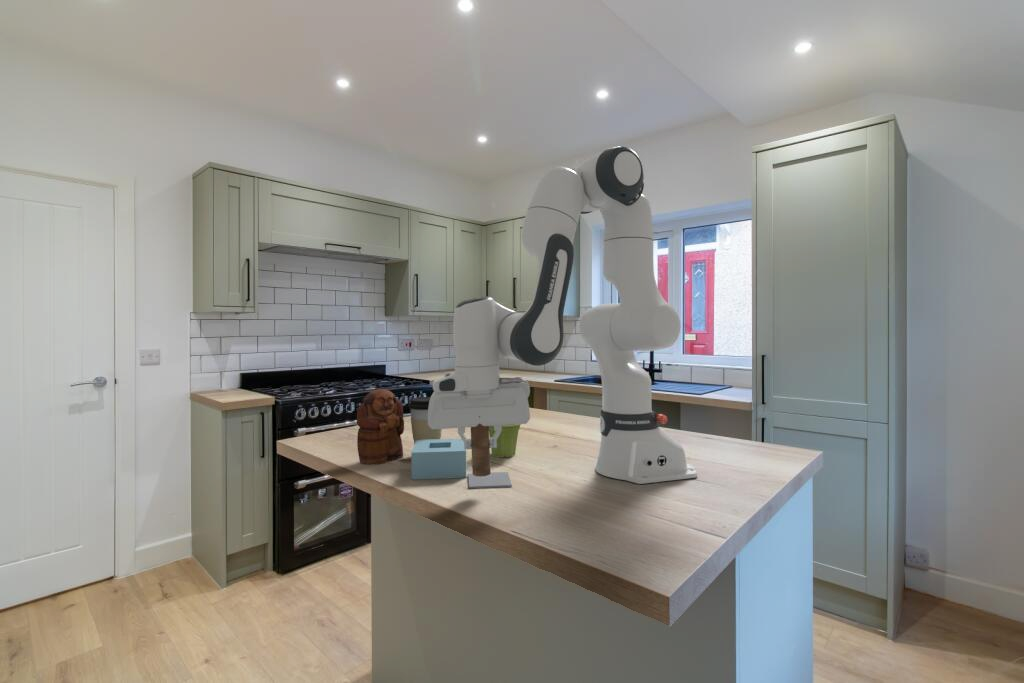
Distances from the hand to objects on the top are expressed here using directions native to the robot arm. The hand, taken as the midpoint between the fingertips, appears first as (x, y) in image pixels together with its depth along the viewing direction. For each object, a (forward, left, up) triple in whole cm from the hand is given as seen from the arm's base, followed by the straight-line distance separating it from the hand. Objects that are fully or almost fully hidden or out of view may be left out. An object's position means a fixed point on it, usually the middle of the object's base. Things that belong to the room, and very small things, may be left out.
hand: (480, 448), depth 97 cm
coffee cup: (+13, -31, -10) cm, 35 cm away
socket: (+9, -18, -10) cm, 22 cm away
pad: (-2, -9, -10) cm, 13 cm away
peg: (0, 0, -5) cm, 5 cm away
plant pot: (-7, -30, -10) cm, 32 cm away
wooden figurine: (+24, -29, -10) cm, 39 cm away
